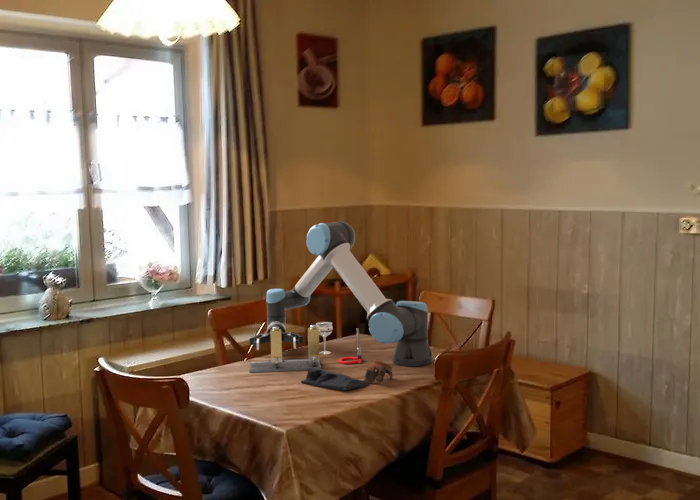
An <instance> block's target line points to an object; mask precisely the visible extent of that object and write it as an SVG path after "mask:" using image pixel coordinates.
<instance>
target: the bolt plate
mask: <svg viewBox="0 0 700 500" xmlns="http://www.w3.org/2000/svg"><path fill="white" fill-rule="evenodd" d="M307 342H308V343H307V345H308V350H307V351H308V358H300V359H297V358H296V359H295V358H294V359H282V362H278V365H275V362H273V363H271V360H255V361H254V360H253V361H250V362H249V363H250V364H249V373H272V372H275V373H276V372H295V371H297V372H298V371H308V368H317V369H321V363H320V361H321V359H320V358H321V356H320V355H321V354H320V352H321V351H320V335H319V328H317V325H316V324H310V326H309V327H308V328H307Z"/></svg>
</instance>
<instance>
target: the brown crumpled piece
mask: <svg viewBox="0 0 700 500" xmlns="http://www.w3.org/2000/svg"><path fill="white" fill-rule="evenodd" d="M392 369H393V367H392V366H391V365H389V364H387V363H386V362H383V361H380V360H378V359H373V360H372V362H371V363H370V364H369V365H367V367H366V372H365V375H364V377H363V378H364V379H363V381H366V382H368V383H369V384H372V385H375V381H376V382H377V383H382V382H383V381H384V378H385V375H386V374H387V375H389V380H390V381H391V380H392V379H393V371H392Z"/></svg>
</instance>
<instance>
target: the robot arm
mask: <svg viewBox="0 0 700 500" xmlns="http://www.w3.org/2000/svg"><path fill="white" fill-rule="evenodd" d="M355 241H356V232H355V230H354V228H353V226H352V225H351V224H349V223H348V222H344V221H342V220H341V221H338V220H337V221H332V222H326V223H325V222H324V223H323V222H321V223H318V224H314V225H313V226H311V227H310V228H309V230H308V232H307V233H306V241H305V242H306V247H307V249H308V251H309V253H311V254H312V255H314V256H317V257H316V258H315V260H314V261H313V262H312V263H311V265H309V268H307V270H306V271H305V272H304V273H303V275H302V276H301V277H300V279H299V280H298V281H297V283H296V284H295V285H294V287H293V288H292V289H291V290H287V291H285V289H284V288H270V289H268V290H267V291H266V299H265V301H266V319H267V321H266V327H267V330H266V333H265V334H264V333H262V332H259V333H258V334H256V335H254V336H252V337H250V338H249V346H253V347H254V348H256V351H259V350H260V345H263V344H265V343H268V344H269V343H270V344H271V335H270V330H271V329H273V327H274V326H278V327H279V329H281V338H282V343H287V342H288V343H291V344H293V345H292V346H293V349H297V346H298V345H299V344H303V343H304V336H303V335H301V334H297V333H296V332H294V331H291V332H289V333H287V323H286V313H287V312H286V311H287V310H288V311H289V310H292V309H296V308H302V307H304V306H306V305H308V304H309V303H310V301H311V297H312V296H311V295H312V294H313V293H314V291H315V290H316V289H317V287H318V286H319V285H320V284H321V283H322V281H323V280H324V279H325V278H326V277H327V275H328V274H329V273H330V272H331V270H332V269H333V268H334V270H335V271H336V272H337V274H338V276H340V278H341V279H342V280H343V282H344V283H345V284H346V285H347V288H349V289H350V291H351V292H352V294H353V295H354V296H355V298H356V299H357V300H358V302H359V303H360V305H361V306H362V308H364V310H365V311H366V313H367V315H366V320H367V321H368V330H369V333H370V335H371V336H372V338H373V339H374V340H375V341H376V342H378V343H380V344H385V345H387V344H395V346H394V347H395V348H394V350H393V353H392V363H393V364H395V365H399V366H403V367H421V366H422V367H423V366H427V365H430V364H432V363H433V354H432V350H431V348H430V345H429V339H428V334H429V333H428V326H429V325H428V323H429V322H428V319H429V318H428V314H429V312H428V306H427V304H426V303H425V302H423V301H415V300H414V301H412V300H398V301H396V303H395V301H394V300H393V299H390V298H386V297H385V295H384V294H383V293H382V291H381V289H380V288H379V287H378V286H377V285H376V283H375V282H374V280H373V279H372V278H371V277H370V276H369V274H368V273H367V271H366V270H365V269H364V268H363V266H362V265H361V264H360V262H359V261H358V260H357V258H356V257H355V256H354V255H353V253H352V252H351V249H352V248H353V247H354V245H355Z"/></svg>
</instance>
